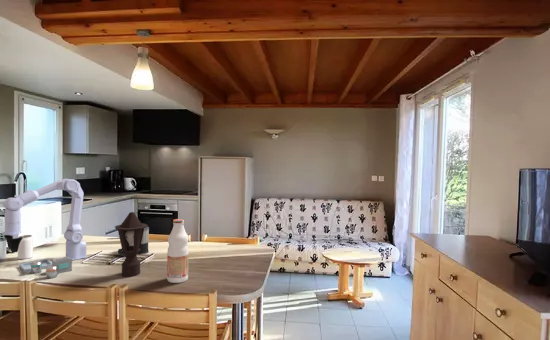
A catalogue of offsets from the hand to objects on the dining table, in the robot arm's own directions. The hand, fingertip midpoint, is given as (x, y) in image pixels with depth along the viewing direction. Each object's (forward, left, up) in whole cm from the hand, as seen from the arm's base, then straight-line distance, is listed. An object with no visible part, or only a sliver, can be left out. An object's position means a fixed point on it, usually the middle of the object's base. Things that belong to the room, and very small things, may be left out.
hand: (13, 250), depth 152 cm
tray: (-9, +1, -10) cm, 14 cm away
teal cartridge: (-7, +10, -10) cm, 16 cm away
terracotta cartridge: (-11, +22, -10) cm, 26 cm away
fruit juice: (-50, +65, -10) cm, 83 cm away
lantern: (-38, +43, -10) cm, 58 cm away
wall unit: (-16, +16, -10) cm, 25 cm away
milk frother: (-53, +12, -10) cm, 56 cm away
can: (-8, -20, -10) cm, 24 cm away
